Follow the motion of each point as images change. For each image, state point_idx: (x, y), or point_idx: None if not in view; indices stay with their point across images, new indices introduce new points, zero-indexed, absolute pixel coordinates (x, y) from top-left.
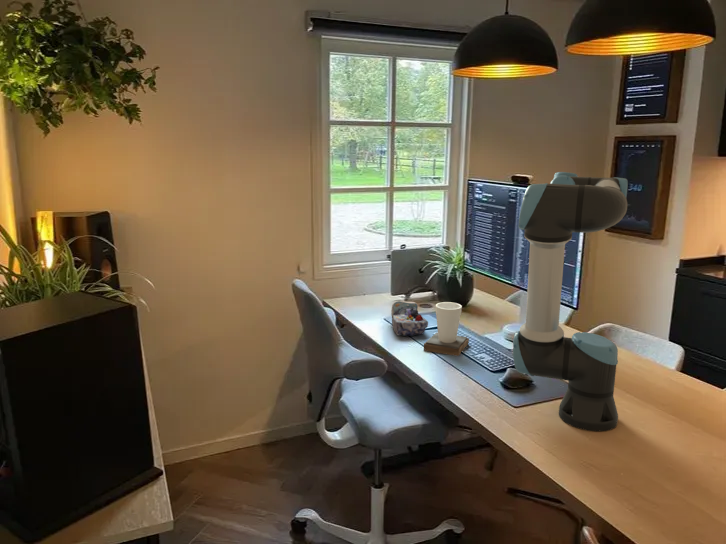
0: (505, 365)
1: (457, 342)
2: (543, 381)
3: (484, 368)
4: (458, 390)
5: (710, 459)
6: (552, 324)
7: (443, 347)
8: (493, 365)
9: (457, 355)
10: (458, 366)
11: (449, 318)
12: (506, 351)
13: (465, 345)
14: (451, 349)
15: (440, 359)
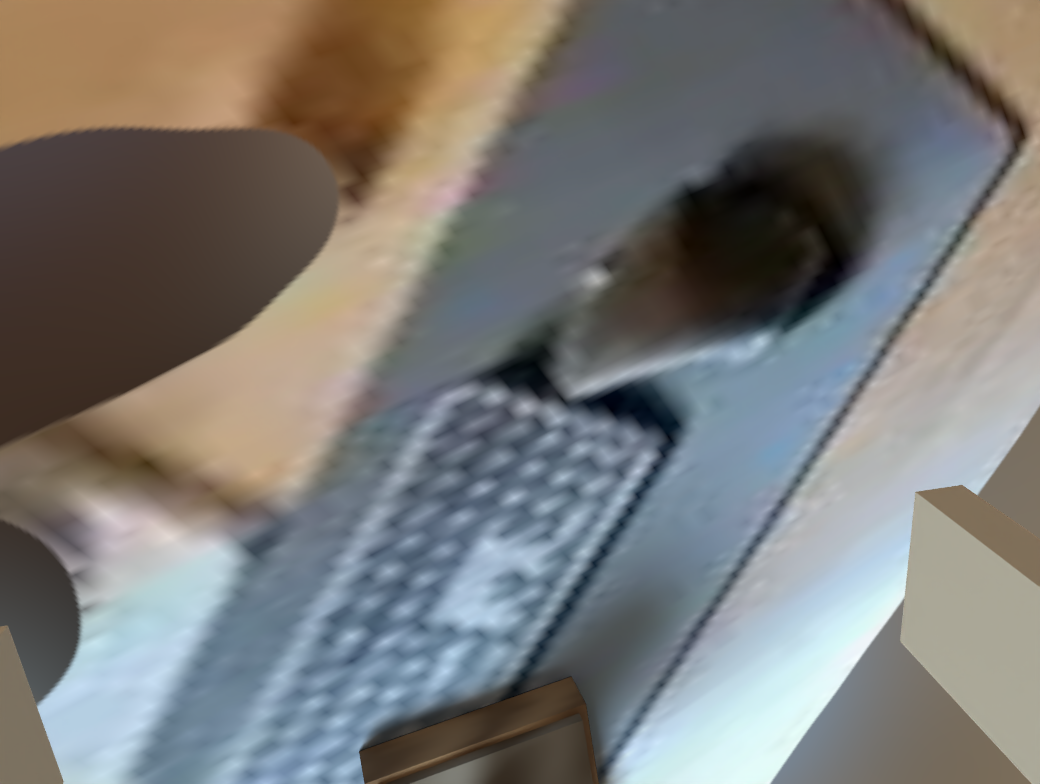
0: (544, 425)
1: (505, 770)
2: (655, 128)
3: (654, 488)
4: (952, 434)
5: None
6: None
7: (596, 771)
8: (585, 476)
9: (573, 682)
10: (699, 593)
11: None
12: (304, 541)
13: (436, 739)
14: (589, 732)
15: (661, 703)
